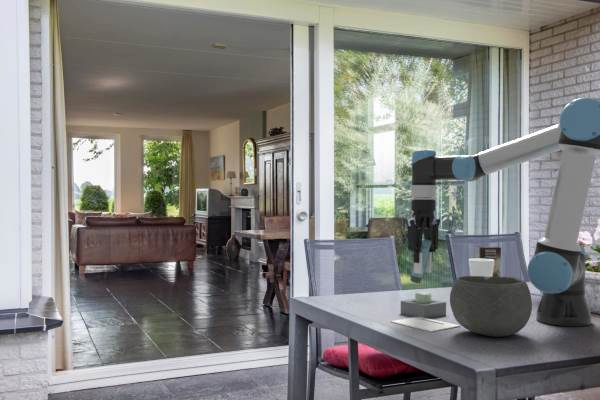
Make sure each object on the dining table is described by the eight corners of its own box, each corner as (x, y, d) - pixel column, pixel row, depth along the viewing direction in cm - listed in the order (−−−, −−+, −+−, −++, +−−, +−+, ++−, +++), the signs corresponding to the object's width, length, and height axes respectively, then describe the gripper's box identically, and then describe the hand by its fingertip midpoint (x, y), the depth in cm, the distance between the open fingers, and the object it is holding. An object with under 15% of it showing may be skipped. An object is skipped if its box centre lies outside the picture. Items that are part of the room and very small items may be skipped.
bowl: (454, 342, 156) (454, 283, 156) (446, 325, 177) (446, 273, 177) (540, 344, 154) (540, 285, 153) (521, 327, 174) (521, 274, 174)
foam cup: (463, 293, 235) (463, 259, 235) (476, 290, 241) (477, 257, 241) (486, 296, 228) (486, 261, 228) (498, 293, 234) (498, 259, 234)
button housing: (446, 314, 192) (446, 302, 192) (423, 318, 186) (423, 305, 186) (422, 310, 200) (422, 297, 200) (400, 313, 195) (400, 300, 194)
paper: (460, 326, 175) (460, 325, 175) (431, 331, 168) (431, 330, 168) (419, 317, 188) (419, 316, 188) (390, 322, 181) (390, 320, 181)
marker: (424, 283, 195) (434, 242, 192) (415, 283, 193) (425, 242, 190) (415, 278, 198) (425, 237, 195) (407, 279, 196) (417, 238, 193)
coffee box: (479, 285, 255) (479, 247, 255) (474, 283, 262) (474, 246, 262) (501, 285, 256) (501, 247, 256) (495, 283, 262) (495, 246, 262)
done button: (434, 309, 193) (434, 293, 193) (423, 311, 190) (423, 295, 190) (422, 307, 197) (422, 291, 197) (411, 309, 194) (411, 293, 194)
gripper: (432, 198, 201) (432, 269, 201) (396, 198, 191) (395, 273, 192) (450, 199, 195) (449, 272, 195) (413, 199, 185) (413, 276, 185)
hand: (422, 272), depth 193 cm, fingers closed on marker, 3 cm apart
